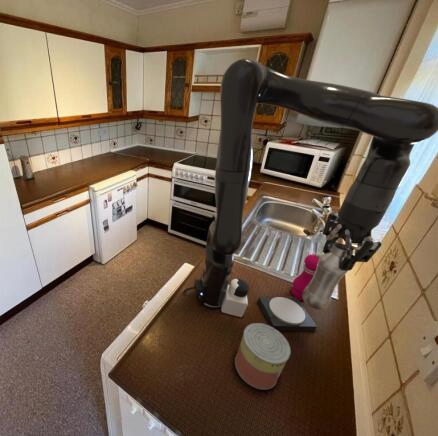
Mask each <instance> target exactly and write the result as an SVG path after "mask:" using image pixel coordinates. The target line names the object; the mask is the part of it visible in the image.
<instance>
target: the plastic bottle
mask: <svg viewBox="0 0 438 436" xmlns="http://www.w3.org/2000/svg"><path fill="white" fill-rule="evenodd" d="M346 254H347V249H346V248H345V243H342V242H337V243H334V244H333V246H332V247H331V249H330V252H327V253H325V254H324V253H323V254H321V257H320V258H319V261H318V264H317V268H316V271H315V274H314V276H313V278H312V280H311V282H310V283H309V285H308V286H307V287H306V288H305V289H304V291H303V299H304V300H303V302H304V303H305V304H306V305H307V306H308V307H310V308H311V309H315V310H325V309H326V308H328V307H329V305H330V304H331V302H332V297H333V294H334V291H335V289H336V288H337V286H338V284H339V282H340V281H341V280H342V279H343V278H344V276H346V274H347V273H348V271H342V270H341V269H340V268H339V267H340V265H341V263H342V261H343V260H344V258H345V257H346Z"/></svg>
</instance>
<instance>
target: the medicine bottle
mask: <svg viewBox="0 0 438 436" xmlns="http://www.w3.org/2000/svg"><path fill="white" fill-rule="evenodd" d="M230 281H231V282H230V283H229V284H228V288H227V291H226V294H225V297H224V300H223V303H222V307H221V313H223V314H226V315H231V316H235V317H239V318H242V317H243V316H244V315H245V312H246V310H247V307H248V305H249V301H248V294H249V291H250V286H249V284H248V283H247V281H245V280H243V279H241V278H234V279H231V280H230Z"/></svg>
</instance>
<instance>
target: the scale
mask: <svg viewBox="0 0 438 436" xmlns="http://www.w3.org/2000/svg"><path fill="white" fill-rule="evenodd" d="M257 303H258V306H259V307H260V309H261V312H262V314H263V315H264V317H265V320H266V322H267V325H269V326H271V327H273V328H275V329H276V330H278V331H279V332H315V331H316V329H317V328H318V325H317V324H316V323H315V321H314V320H313V319H312V317H311V315H310V314H309V313H308V311H307V310H306V309H305V307H304V305H303V304H302V303H301V300H300V299H298V298H296V297H282V296H277V297H273V296H272V297H270V296H269V297H263V296H260V297H258V299H257Z"/></svg>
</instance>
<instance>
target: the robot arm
mask: <svg viewBox="0 0 438 436" xmlns="http://www.w3.org/2000/svg"><path fill="white" fill-rule="evenodd" d="M259 104H260V105H269V106H274V107H279V108H281V109H282V108H283V109H285V110H289V111H292V112H294V113H297V114H299V115H301V116H304V117H307V118H309V119H312V120H315V121H318V122H321V123H324V124H329V125H331V126H336V127H340V128H343V129H349V130H354V131H358V132H361V133H364V134H367V135H369V136H372V138H371V141H370V144H369V149H368V152H367V154H366V157H365V159H364V160H363V163H362V165H361V166H360V169H359V171H358V173H357V174H356V176H355V179H354V181H353V183H351V185H350V187H349V188H348V191H347V193H346V195H345V197H344V199H343V201H342V203H341V205H340V207H339V210H338V212H337V213H328V215H327V217H326V221H325V224H324V227H323V230H322V234H323V235H324V236H325V240H326V241H325V243H324V245H323V247H322V253H323V254H325V253H327V252H330V249H331V247H332V246H333V244H334V243H338V242H339V241H340V240H341V239H342V240H343V241H344V244H345V248H346V249H347V254H346V257H345V258H344V260H343V261H342V263H341V265H340V267H339V268H340V269H341V270H342V271H347V272H349V271H352V270H353V269H354V266H356V263H368V262H369V261H370V260H371V259H372V258H373V256H374V255H375V254H376V253H377V252H378V251H379V249H380V248H381V247H382V245H383V244H382V242H381V241H379V240H375V239H374V238H373V237H372V230H373V229H375V228H376V227H378V226H379V225H380V223H381V221H382V219H383V218H384V217H385V214H386V213H387V211H388V209H389V208H390V206H391V204H392V202H393V201H394V199H395V196H396V194H397V191H398V189H399V187H400V185H401V183H402V182H403V180H404V178H405V176H406V175H407V173H408V171H409V169H410V166H411V158H410V155H411V153H412V150H413V149H414V146H415V144H418V143H421V142H423V141H426V140H428V139H430V138H431V137H433V136H434V135H435V134H437V132H438V107H437V106H436V105H434V104H431V103H428V102H424V101H418V100H410V99H407V98H400V97H393V96H388V95H387V96H386V95H381V94H378V93H377V92H376V93H375V92H372V91H370V90H365V89H363V88H356V87H353V86H347V85H342V84H337V83H330V82H323V81H317V80H311V79H305V78H299V77H294V76H291V75H288V74H284V73H281V72H279V71H276V70H274V69H272V68H270V67H267V66H265V65H263V63H261V62H260V61H258V60H255V59H251V58H240V59H237V60H235V61H234V62H233V63H231V64H230V65H229V66H228V67H227V69H226V70H225V71H224V72H223V76H222V78H221V82H220V131H219V136H218V137H219V138H218V144H217V153H216V154H217V155H216V162H215V170H214V197H215V198H214V199H215V207H216V208H215V209H216V216H215V217H216V218H215V219H214V220H213V221H212V222H211V223H210V225H209V227H208V230H207V235H206V236H207V237H206V244H205V258H204V263H203V264H204V265H203V269H202V273H201V274H200V276H199V277H200V278H199V279H198V278H197V279H196V278H195V279H194V282H193V286H191V287H187V288H185V290H183V291H182V293H183V294H186V293H187V292H188V291H191V290H194V293H195V296H196V297H198V299H199V303H200V305H201V306H205V307H206V308H209V309H214V310H215V309H220V308H222V303H223V300H224V297H225V294H226V291H227V288H228V285H230V281H231V280H230V279H231V275H232V270H233V267H234V263H235V253H236V252H238V251H239V249H240V248H241V245H242V243H243V219H244V212H245V207H246V203H247V198H248V191H249V186H250V181H251V176H252V169H253V163H254V162H253V161H254V149H253V148H254V147H253V146H254V145H253V124H254V119H255V113H256V109H257V105H259ZM352 244H354V245H352Z"/></svg>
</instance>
